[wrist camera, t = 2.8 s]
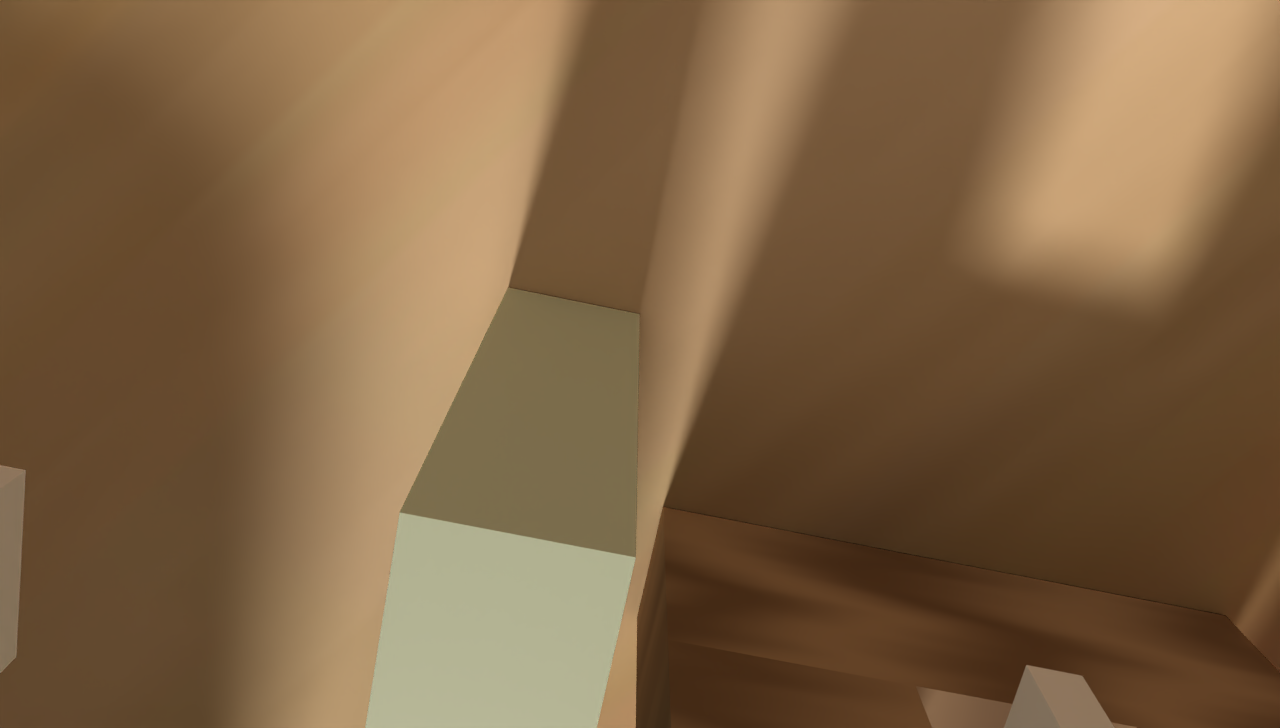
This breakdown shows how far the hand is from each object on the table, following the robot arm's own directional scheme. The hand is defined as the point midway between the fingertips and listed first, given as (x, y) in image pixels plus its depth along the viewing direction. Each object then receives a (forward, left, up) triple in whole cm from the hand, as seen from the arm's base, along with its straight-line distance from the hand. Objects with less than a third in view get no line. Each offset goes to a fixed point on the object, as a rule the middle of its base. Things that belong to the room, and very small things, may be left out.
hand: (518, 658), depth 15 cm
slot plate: (0, -5, -12) cm, 13 cm away
